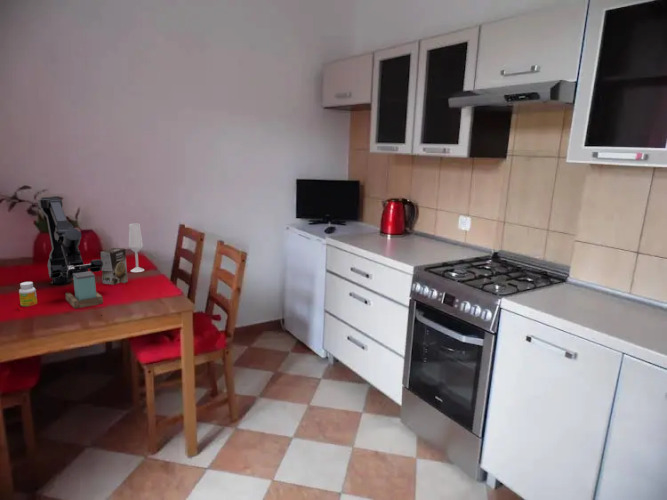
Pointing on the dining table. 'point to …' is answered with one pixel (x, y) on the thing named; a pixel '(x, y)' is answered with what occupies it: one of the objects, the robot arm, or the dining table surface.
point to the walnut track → (83, 301)
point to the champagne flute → (135, 243)
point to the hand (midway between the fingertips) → (82, 286)
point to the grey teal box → (84, 285)
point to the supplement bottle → (27, 294)
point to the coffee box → (114, 266)
